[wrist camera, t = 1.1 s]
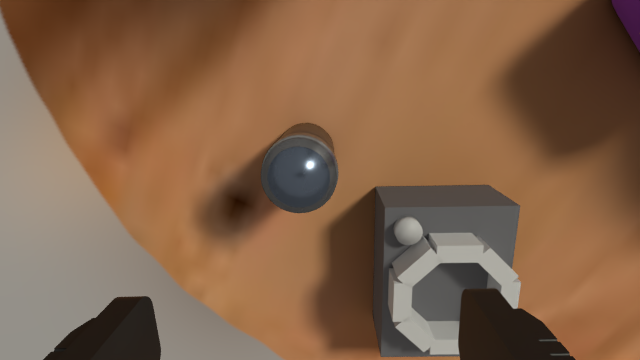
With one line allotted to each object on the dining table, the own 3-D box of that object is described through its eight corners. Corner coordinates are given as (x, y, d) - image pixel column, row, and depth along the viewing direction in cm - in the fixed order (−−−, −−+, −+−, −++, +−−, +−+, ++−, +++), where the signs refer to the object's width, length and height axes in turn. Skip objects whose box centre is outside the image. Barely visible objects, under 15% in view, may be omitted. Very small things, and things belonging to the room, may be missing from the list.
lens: (275, 122, 28) (256, 138, 21) (335, 121, 28) (338, 137, 20) (278, 179, 30) (261, 216, 22) (335, 178, 30) (339, 214, 22)
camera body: (375, 186, 30) (390, 218, 23) (488, 184, 29) (536, 216, 23) (372, 315, 33) (385, 377, 26) (474, 315, 33) (513, 376, 26)
